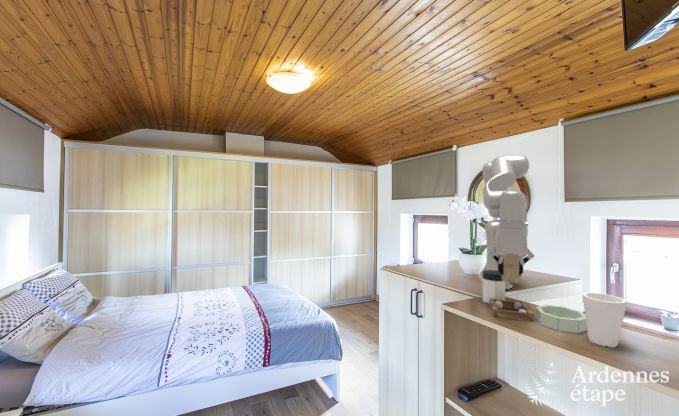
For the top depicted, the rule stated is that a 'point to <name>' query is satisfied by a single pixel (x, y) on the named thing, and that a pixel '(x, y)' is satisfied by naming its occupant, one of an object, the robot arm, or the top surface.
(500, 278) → the jar
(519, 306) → the pebble
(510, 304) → the tray
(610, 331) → the foam cup
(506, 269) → the box
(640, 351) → the top surface
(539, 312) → the bowl
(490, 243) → the robot arm
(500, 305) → the pebble
